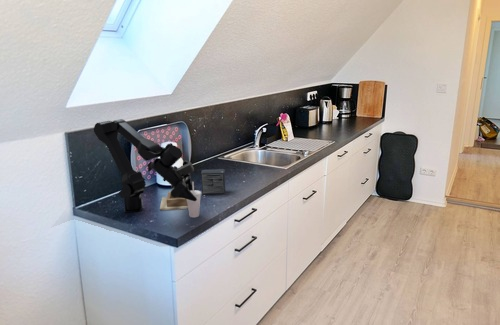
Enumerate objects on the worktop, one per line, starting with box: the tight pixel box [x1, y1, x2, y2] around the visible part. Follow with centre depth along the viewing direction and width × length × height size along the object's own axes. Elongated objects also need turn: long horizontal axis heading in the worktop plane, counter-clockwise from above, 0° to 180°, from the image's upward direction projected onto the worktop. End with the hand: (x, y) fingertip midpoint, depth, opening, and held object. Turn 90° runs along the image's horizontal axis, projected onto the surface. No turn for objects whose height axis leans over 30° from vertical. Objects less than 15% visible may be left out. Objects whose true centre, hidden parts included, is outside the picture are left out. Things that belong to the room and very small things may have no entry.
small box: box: [200, 168, 226, 196], centre depth 187 cm, size 11×6×10 cm, turn 92°
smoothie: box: [186, 180, 202, 218], centre depth 160 cm, size 6×6×14 cm
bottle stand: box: [159, 191, 188, 211], centre depth 175 cm, size 16×14×4 cm
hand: (196, 197), depth 159 cm, fingers open, 6 cm apart
